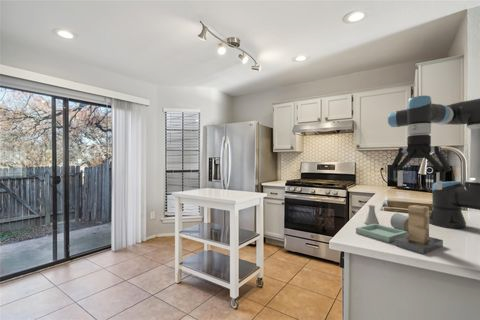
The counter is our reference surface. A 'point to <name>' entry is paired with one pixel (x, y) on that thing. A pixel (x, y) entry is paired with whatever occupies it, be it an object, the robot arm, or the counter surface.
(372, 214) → the flask
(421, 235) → the wooden peg
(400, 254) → the counter surface
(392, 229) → the green tray
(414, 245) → the gray slotted block
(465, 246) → the counter surface
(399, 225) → the grey cylinder
